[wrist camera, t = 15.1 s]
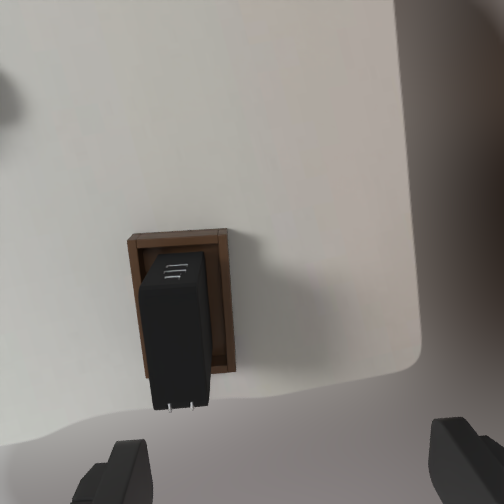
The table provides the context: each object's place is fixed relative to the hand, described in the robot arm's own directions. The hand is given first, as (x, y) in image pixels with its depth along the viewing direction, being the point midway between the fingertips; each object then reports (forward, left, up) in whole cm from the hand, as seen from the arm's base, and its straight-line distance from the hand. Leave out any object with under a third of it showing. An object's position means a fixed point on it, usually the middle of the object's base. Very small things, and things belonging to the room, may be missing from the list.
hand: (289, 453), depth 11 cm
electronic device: (+6, +6, -27) cm, 29 cm away
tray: (+6, +6, -28) cm, 29 cm away
